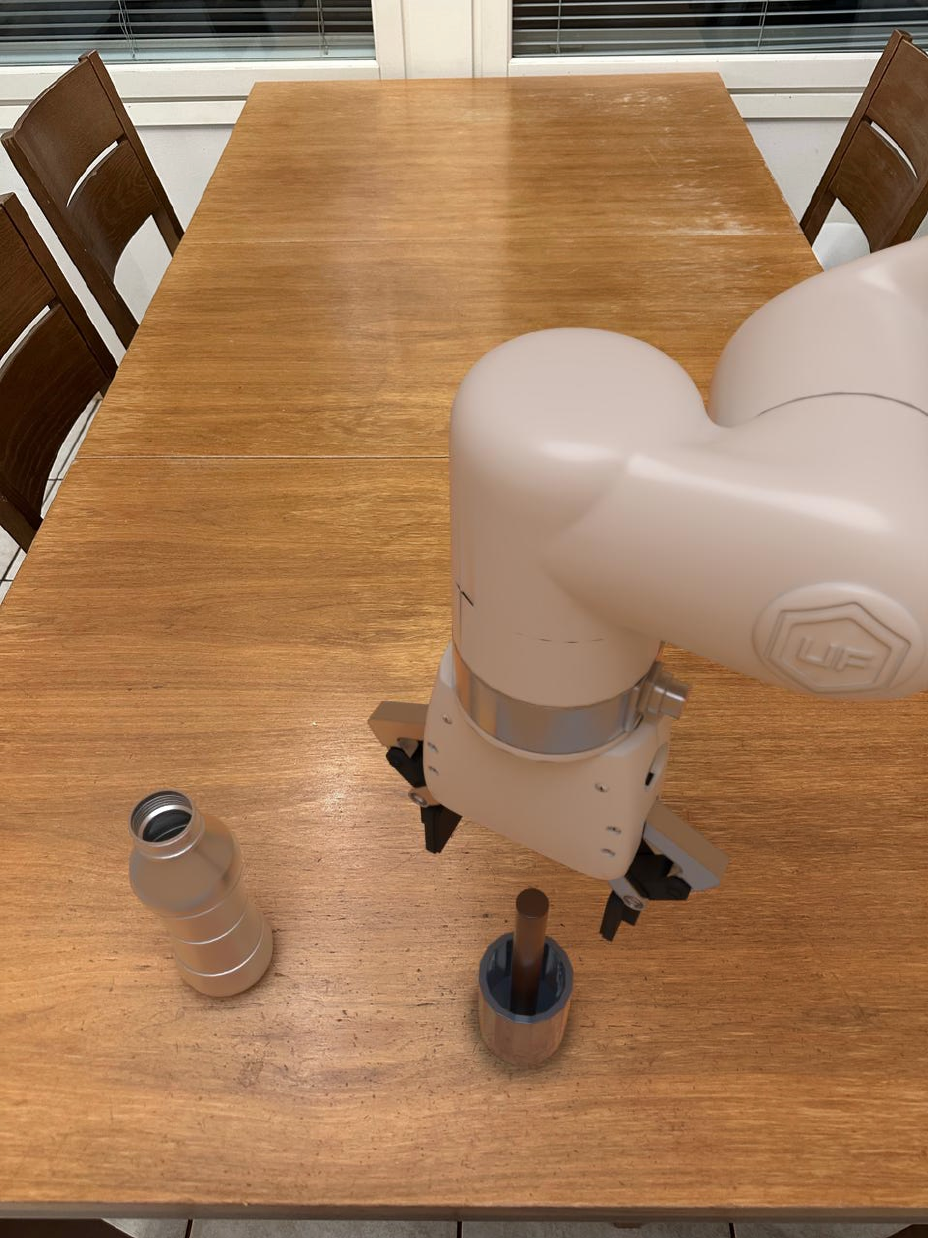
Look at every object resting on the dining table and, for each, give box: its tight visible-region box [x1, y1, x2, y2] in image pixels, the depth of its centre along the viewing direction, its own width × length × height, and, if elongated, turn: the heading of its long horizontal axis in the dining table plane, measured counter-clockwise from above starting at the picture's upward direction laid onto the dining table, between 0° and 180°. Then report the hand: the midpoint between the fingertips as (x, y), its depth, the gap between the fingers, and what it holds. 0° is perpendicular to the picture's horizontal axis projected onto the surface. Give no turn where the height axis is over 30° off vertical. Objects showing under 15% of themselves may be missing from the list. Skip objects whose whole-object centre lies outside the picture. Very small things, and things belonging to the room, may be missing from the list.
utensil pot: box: [477, 930, 574, 1067], centre depth 61 cm, size 6×6×8 cm
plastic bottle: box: [127, 788, 274, 998], centre depth 60 cm, size 6×7×20 cm
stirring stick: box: [509, 887, 550, 1016], centre depth 57 cm, size 2×2×16 cm
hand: (529, 871), depth 48 cm, fingers open, 9 cm apart
